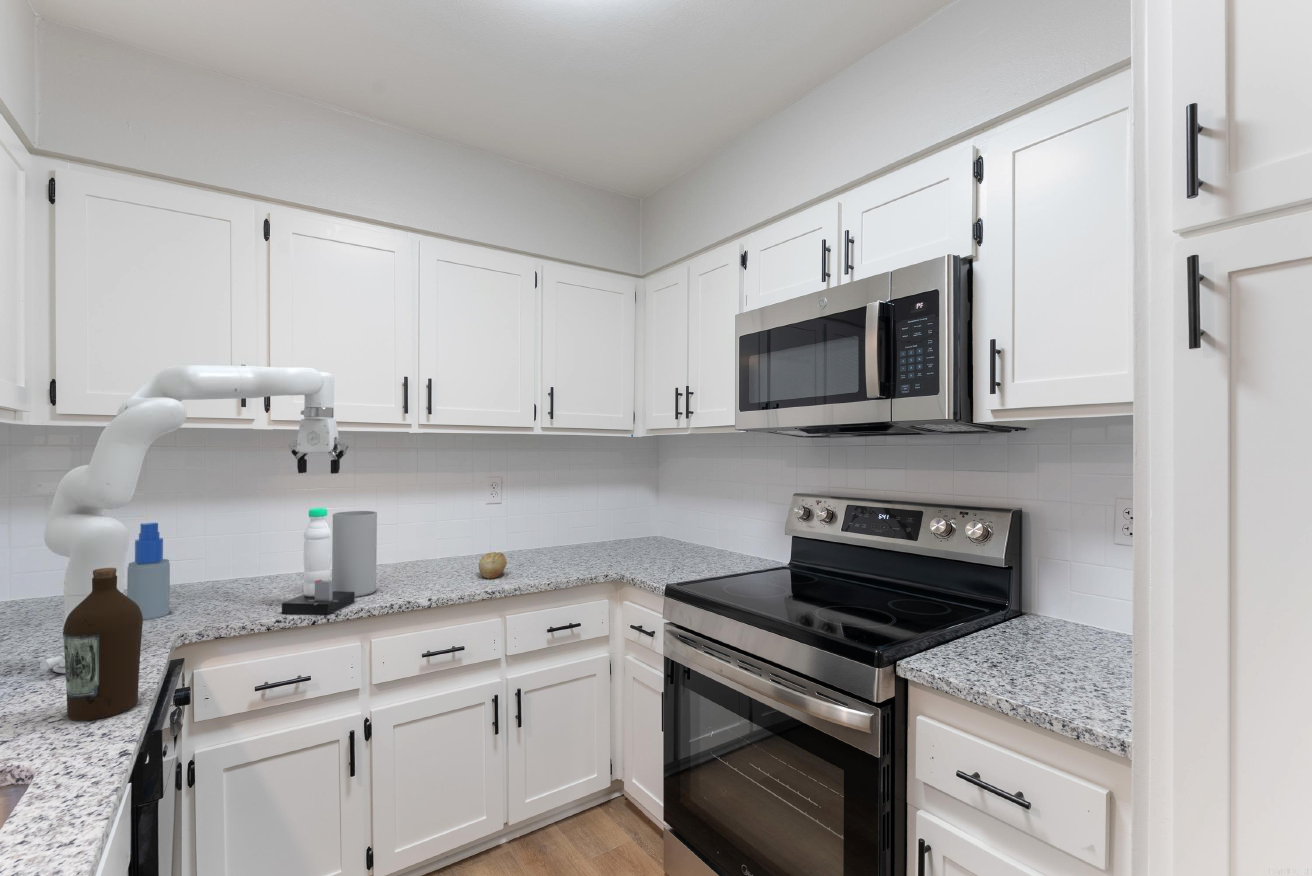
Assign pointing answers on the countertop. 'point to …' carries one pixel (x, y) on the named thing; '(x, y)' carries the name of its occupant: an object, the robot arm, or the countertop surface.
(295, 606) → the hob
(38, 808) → the countertop surface
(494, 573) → the bread roll
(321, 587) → the knob
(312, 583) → the water bottle
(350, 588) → the cylinder vase
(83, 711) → the olive oil
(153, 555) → the spray bottle
